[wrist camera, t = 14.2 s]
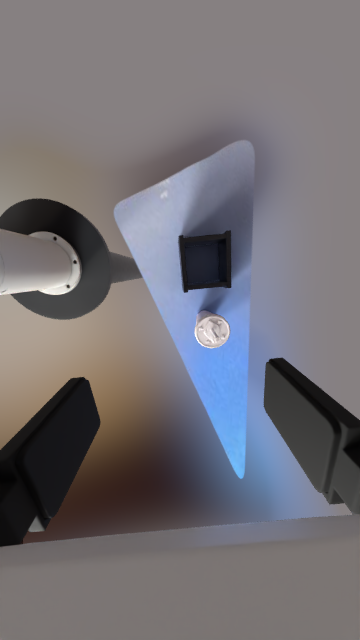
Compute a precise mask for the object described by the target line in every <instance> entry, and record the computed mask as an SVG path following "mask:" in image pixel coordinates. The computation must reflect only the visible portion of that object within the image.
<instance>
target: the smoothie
mask: <svg viewBox="0 0 360 640" xmlns="http://www.w3.org/2000/svg"><path fill="white" fill-rule="evenodd" d="M229 335H230V326H229V324H228V322H227V321H226V320H225V318H223V317H222V316H220V315H217V314H213V313H211V312H209V311H206V310H203V311H200V312H199V313H198V314H197V318H196V326H195V336H196V338H197V340H198V342H199V343H200V344H201V345H202V346H204V347H207V348H217V347H219V346H221V345H223V344H224V343H225V342H226V341H227V340H228V338H229Z"/></svg>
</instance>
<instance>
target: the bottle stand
mask: <svg viewBox="0 0 360 640" xmlns="http://www.w3.org/2000/svg"><path fill="white" fill-rule="evenodd" d="M178 244H179V255H180V265H181V276H182V287H183V291H184V293H185V292H188V290H193V289H203V288H213V287H225V288H231V231H226V232H224V233H223V234H216V235H206V236H197V237H187V238H184V237H183V235H181V236H179V240H178ZM212 244H218V257H219V280H216V281H206V282H196V283H187V273H186V261H185V249H184V247H192V246H202V245H212Z"/></svg>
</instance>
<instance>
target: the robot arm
mask: <svg viewBox="0 0 360 640" xmlns="http://www.w3.org/2000/svg"><path fill="white" fill-rule="evenodd" d="M76 261H77V263H76ZM81 273H82V266H81V261H80V258H79V255H78V253H77V252H76V250H75V249H74V247H73V246H72V245H71V244H70V243H69V242H68V241H67V240H65V239H64V238H62V237H61V236H58V235H56V234H53V233H49V232H35V233H32V234H30V235H23V234H19V233H15V232H11V231H7V230H3V229H0V295H3V294H11V293H19V292H26V291H34V290H39V291H41V292H44V293H47V294H52V295H59V294H64V293H67V292H69V291H71V290H73V289H74V288H75V287H76V286H77V284H78V283H79V281H80V278H81ZM264 408H265V410H266V413H267V414H268V416H269V417H270V419H271V420H272V422H273V423H274V425H275V427H276V428H277V430H278V431H279V433H280V434H281V436H282V437H283V439H284V441H285V442H286V444H287V445H288V447H289V448H290V450H291V452H292V453H293V455H294V456H295V458H296V459H297V461H298V463H299V464H300V466H301V467H302V469H303V470H304V472H305V474H306V475H307V477H308V478H309V480H310V481H311V483H312V484H313V486H314V487H315V489H316V490H317V491H318V492H320V493H323V495H324V497H325V498H326V499H327V501H328V503H329V504H340V503H345V504H346V505H347V507H348V508H349V510H350V511H351V512H352V515H345V516H328V517H312V518H301V519H289V520H277V521H265V522H253V523H241V524H229V525H218V526H208V527H197V528H185V529H174V530H163V531H152V532H141V533H130V534H120V535H109V536H100V537H90V538H79V539H68V540H59V541H49V542H39V543H29V544H23V538H24V536H25V535H26V533H27V531H28V530H29V531H30V532H35V531H44V530H45V529H46V527H47V525H48V524H49V522H50V520H51V518H52V517H54V516H55V515H56V513H57V512H58V510H59V508H60V506H61V504H62V502H63V500H64V498H65V496H66V494H67V492H68V490H69V488H70V486H71V484H72V482H73V480H74V478H75V476H76V474H77V471H78V470H79V467H80V465H81V463H82V461H83V459H84V457H85V455H86V453H87V451H88V449H89V447H90V445H91V443H92V441H93V439H94V437H95V435H96V433H97V431H98V429H99V427H100V418H99V414H98V411H97V407H96V404H95V400H94V397H93V394H92V390H91V387H90V383H89V381H88V380H86V379H85V378H84V377H79V378H72V379H70V380H69V381H68V382H67V383H66V384H65V385H64V386H63V387H62V388H61V389H60V390H59V391H58V392H57V393H56V394H55V395H54V396H53V397H52V398H51V399H50V400H49V401H48V402H47V403H46V404H45V405H44V406H43V407H42V408H41V409H40V411H38V413H36V414H35V415H34V417H32V418H31V420H30V421H29V422H28V423H27V424H26V425H25V426H24V427H23V428H22V429H21V430H20V431H19V432H18V433H17V434H16V435H15V436H14V437H13V438H12V439H11V440H10V441H9V442H8V443H7V444H6V445H5V446H4V447H3V448H2V449H1V450H0V640H360V420H359V419H357V418H356V417H355V416H354V415H352V414H351V413H350V412H349V411H348V410H346V409H345V408H344V407H343V406H341V405H340V404H339V403H338V402H336V401H335V400H334V399H333V398H331V397H330V396H329V395H328V394H327V393H325V392H324V391H323V390H322V389H320V388H319V387H318V386H317V385H315V384H314V383H313V382H312V381H310V380H309V379H308V378H307V377H306V376H304V375H303V374H302V373H301V372H299V371H298V370H297V369H296V368H295V367H293V366H292V365H291V364H290V363H288V362H287V361H286V360H285V359H283V358H274V359H270V360H269V362H267V363H266V371H265V389H264Z"/></svg>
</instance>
